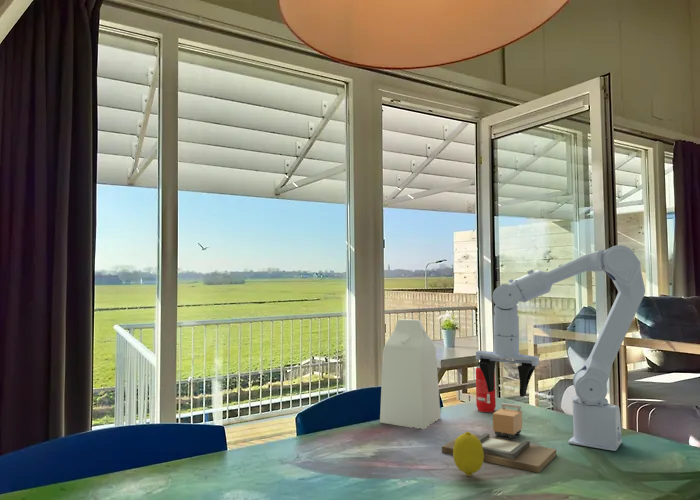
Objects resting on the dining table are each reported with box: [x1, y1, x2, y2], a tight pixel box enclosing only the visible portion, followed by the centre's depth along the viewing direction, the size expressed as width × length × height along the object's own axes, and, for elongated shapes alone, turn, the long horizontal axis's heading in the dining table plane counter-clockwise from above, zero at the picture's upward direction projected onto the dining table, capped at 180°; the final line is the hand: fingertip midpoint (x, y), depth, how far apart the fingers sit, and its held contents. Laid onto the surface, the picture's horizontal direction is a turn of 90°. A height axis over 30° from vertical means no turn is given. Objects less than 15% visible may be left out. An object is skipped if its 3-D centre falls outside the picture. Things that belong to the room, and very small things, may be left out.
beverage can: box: [475, 365, 497, 413], centre depth 143 cm, size 5×5×12 cm
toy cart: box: [492, 402, 523, 439], centre depth 120 cm, size 6×5×6 cm
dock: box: [441, 432, 557, 473], centre depth 106 cm, size 20×12×2 cm, turn 53°
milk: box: [379, 318, 441, 430], centre depth 134 cm, size 12×12×26 cm
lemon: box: [452, 431, 484, 477], centre depth 95 cm, size 6×6×8 cm
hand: (506, 393), depth 120 cm, fingers open, 7 cm apart
